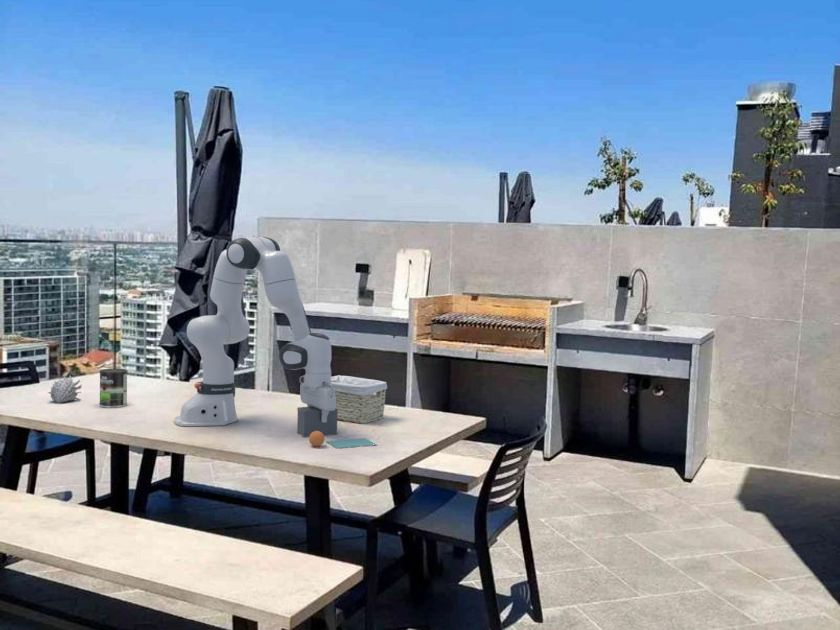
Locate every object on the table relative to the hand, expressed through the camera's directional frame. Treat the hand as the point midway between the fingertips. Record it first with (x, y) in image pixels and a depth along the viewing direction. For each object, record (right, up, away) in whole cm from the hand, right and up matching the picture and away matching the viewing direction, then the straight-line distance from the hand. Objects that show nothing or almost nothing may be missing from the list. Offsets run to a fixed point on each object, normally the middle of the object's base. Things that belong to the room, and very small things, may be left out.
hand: (317, 419), depth 270 cm
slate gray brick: (0, -5, 0) cm, 5 cm away
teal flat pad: (+13, -6, -13) cm, 19 cm away
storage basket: (+9, -3, +28) cm, 30 cm away
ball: (+2, -4, -18) cm, 19 cm away
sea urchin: (-108, +1, +44) cm, 116 cm away
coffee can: (-86, 0, +39) cm, 95 cm away
